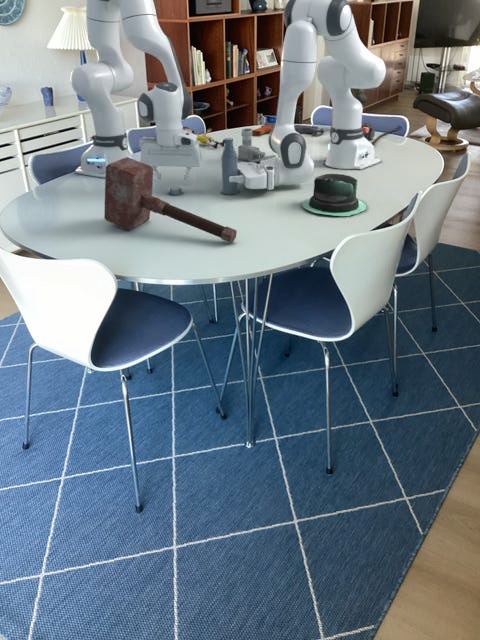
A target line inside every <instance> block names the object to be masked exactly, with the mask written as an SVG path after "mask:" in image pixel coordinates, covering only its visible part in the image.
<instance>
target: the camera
mask: <svg viewBox="0 0 480 640" xmlns="http://www.w3.org/2000/svg"><path fill="white" fill-rule="evenodd" d="M252 130H253V129H252V128H249V127H248V128H246V127H245V128H241V138H242V141H241V142H242V143H241V144H240V145H238V147H237V159H239V160H243V161H245V162H254V163H257V162H258V163H259V162H260V161H261V160H271V159H273V158H275V157H277V156H276V155H275V154H273V155H266V152H264V151H261V150H260V148H259V147H257V146H252V137H253V135H252Z"/></svg>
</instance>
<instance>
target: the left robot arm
mask: <svg viewBox="0 0 480 640" xmlns="http://www.w3.org/2000/svg"><path fill="white" fill-rule="evenodd" d="M85 8H86V10H85V19H86V20H85V23H86V26H85V27H86V30H85V31H86V42H87V43H88V45H89V46H90V47H91V48H92V49H93V50H95V52H96V55H97V61H95V62H94V61H93V62H87V63H83V64H80V65H78V66H76V67H74V68H73V69H72V70H71V73H70V84H71V87H72V89H73V91H74V92H75V93H76V95H78V96H79V97H81V98H82V99H83V100H84V101H85V103H86V104H87V106H88V108H89V110H90V113H91V116H92V121H93V126H94V133H95V134H93V135H92V136H90V137H89V141H92V145H91V146H90V147H88V148H87V149H86V150H85V151H84V152H83V153H82V154H81V157H80V160H79V161H80V166H79V167H77V168H76V169H75V174H79V175H85V176H90V177H97V178H105V177H106V166H107V165H108V164H110V163H113V162H116V161H118V160H121V159H123V158H126V157H128V158H131V156H130V152H129V142H128V135H127V132H126V126H125V119H124V118H125V117H124V112H123V110H122V109H121V108H120V107H118V106H116V105H115V104H114V103H113V100H112V98H111V94H116V93H121V92H123V91H126V90H127V89H129V88H130V87H131V86H132V85H133V82H134V78H135V76H134V71H133V68H132V67H131V64H129V63H128V62H127V60H126V59H125V58H124V55H123V53H122V48H121V32H120V31H121V28H120V25H121V24H122V29H123V33H124V36H125V39H126V40H127V42H128V43H129V44H130V45H131V46H132V47H133V48H134V49H136V50H138V51H141V52H143V53H146V54H148V55H151V56H153V57H155V58H156V59H157V60H159V61H160V63H161V64H162V66H163V70H164V74H165V76H166V79H167V81H163V82H162V81H161V82H157V83H156V84H155V85H154V86H153V88H152V89H151V90H148V91H146V92H142V93H141V94H140V95H139V98H138V100H137V111H138V115H139V117H140V118H141V119H142V120H144V122H146V123H155V136H145V135H144V136H143V137H141V138H140V139H139V142H138V147H139V148H140V162H141V163H144V164H147V165H149V166H152V168H153V174H155V179H156V180H161V179H162V172H160V171H159V170H158V167H179V168H185V170H186V172H184V173H183V175H182V176H183V179H182V180H184V181H188V180H189V178H190V177H189V174H190V172H191V170H192V168H200V167H201V165H202V164H203V163H202V162H203V157H202V151H201V147H200V144H199V143H198V141H197V135H195V133H194V134H193V133H190V132H187V131H184V130H183V127H184V126H183V122H182V121H185V120H186V119H187V118H188V117H189V116H190V115H191V113H192V111H193V105H194V104H193V99H192V96H191V94H190V92H189V90H188V88H187V85H186V83H185V78H184V76H183V73H182V70H181V67H180V64H179V61H178V57H177V53H176V50H175V48H174V45H173V42H172V41H171V39H170V37H168V36H167V35H166V34H165V33H164V32H163V29H162V28H161V26H160V23H159V20H158V17H157V11H156V6H155V3H154V0H86V7H85ZM120 18H121V19H120ZM120 20H121V21H120ZM120 22H122V23H121V24H120Z"/></svg>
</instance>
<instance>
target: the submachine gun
mask: <svg viewBox="0 0 480 640" xmlns="http://www.w3.org/2000/svg"><path fill="white" fill-rule="evenodd" d="M274 123H275V122H264V124H262V125H261V126H260V127H259V128H256V129H252V136H257V137H258V136H261V135H265V134H268V133H270V132H271V130H272V128H273V126H274ZM294 128H295V131H296V132H298V133H299V134H311V136H312V137H319V136H322V135H323V134H324V133H325V130H324V128H319V127H318V126H315V125H313V126H312V125H304V124H303V125H302V124H294ZM318 128H319V129H318Z"/></svg>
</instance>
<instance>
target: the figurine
mask: <svg viewBox="0 0 480 640" xmlns="http://www.w3.org/2000/svg"><path fill="white" fill-rule="evenodd" d="M183 130H184V131H187V132H190V133H193V134H195V135H197V142H200V143H201V144H203V145H204V146H210V147H212V148H214V149H215V150H216V149H218V145H219V146H221V147H225V140H224V139H222V141H218V140H216V139H215V138H213V137H212V136H207V135H208V134H209V133H210V132H212V128H209V129H207V130H206V132H205V133H204V134H202V135H201V134H198V133H195V130H193V129H191V128H189V127H188V126H183Z"/></svg>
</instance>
